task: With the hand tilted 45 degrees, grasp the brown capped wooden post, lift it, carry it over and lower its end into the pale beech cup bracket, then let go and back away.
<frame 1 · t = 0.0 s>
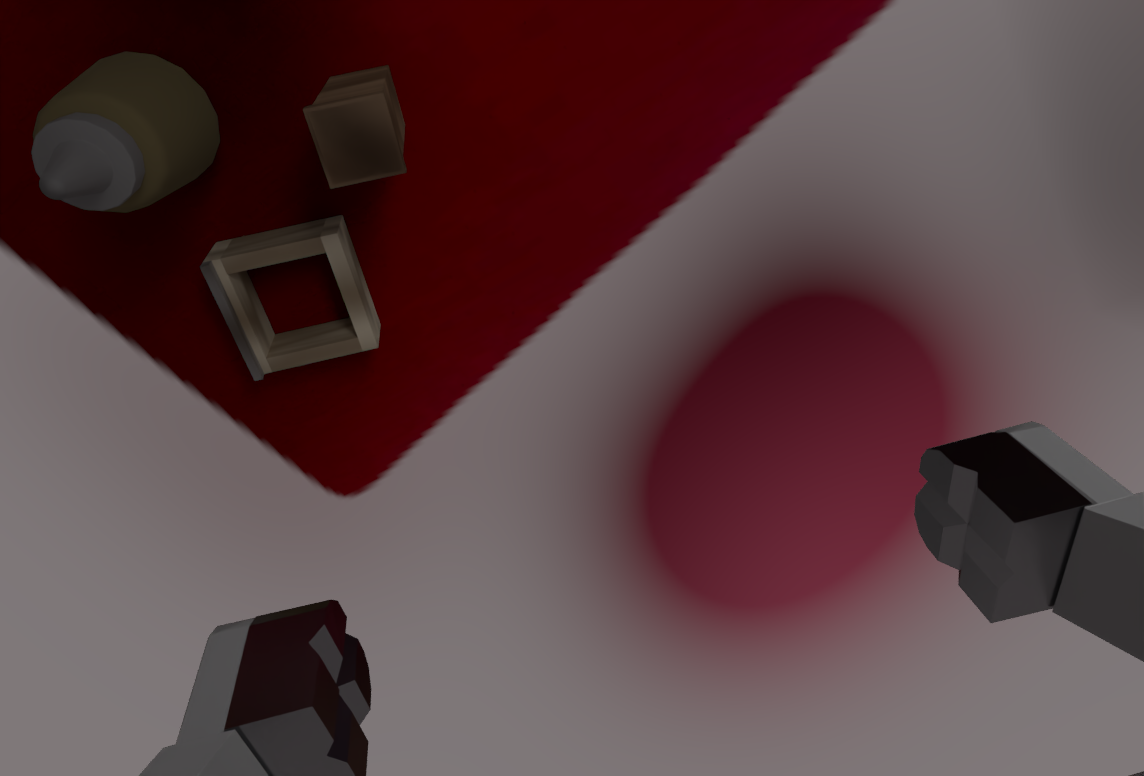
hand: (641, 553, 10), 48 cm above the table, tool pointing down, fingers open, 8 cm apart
brown capped wooden post: (368, 101, 50), on the table
cup bracket: (302, 285, 56), on the table
squeeze bottle: (168, 109, 49), on the table
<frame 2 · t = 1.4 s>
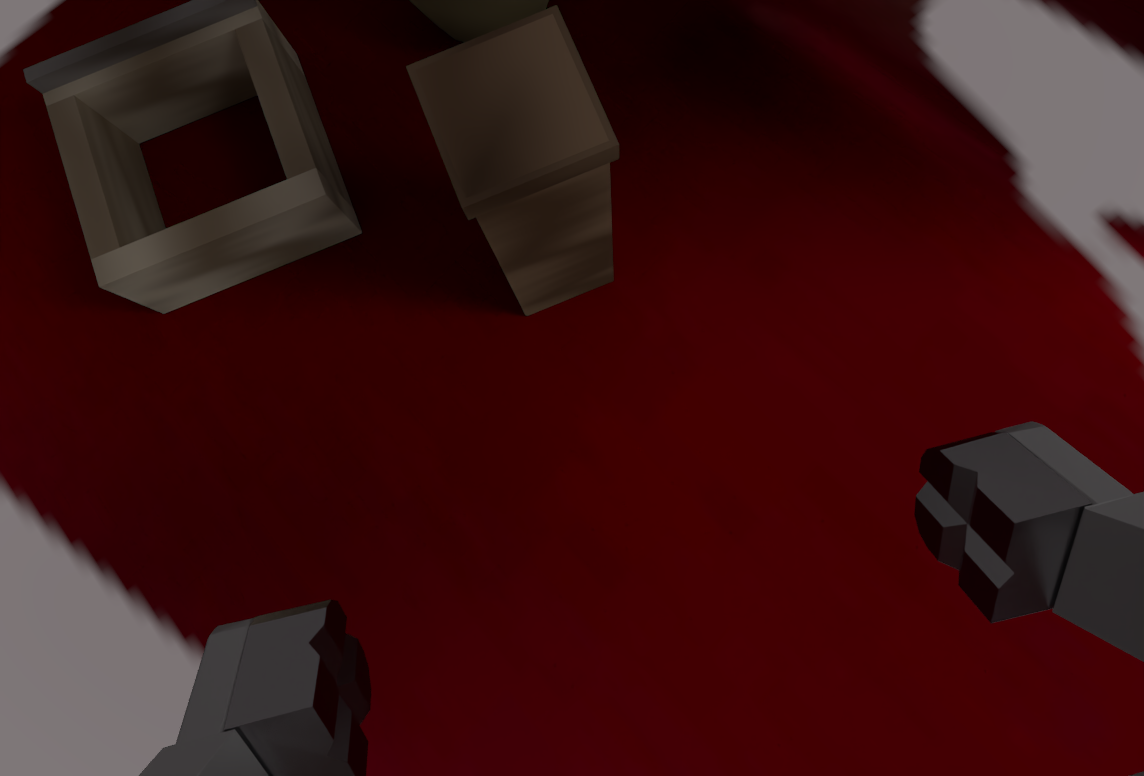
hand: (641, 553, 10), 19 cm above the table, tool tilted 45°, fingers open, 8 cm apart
brown capped wooden post: (552, 256, 31), on the table
cup bracket: (231, 180, 32), on the table
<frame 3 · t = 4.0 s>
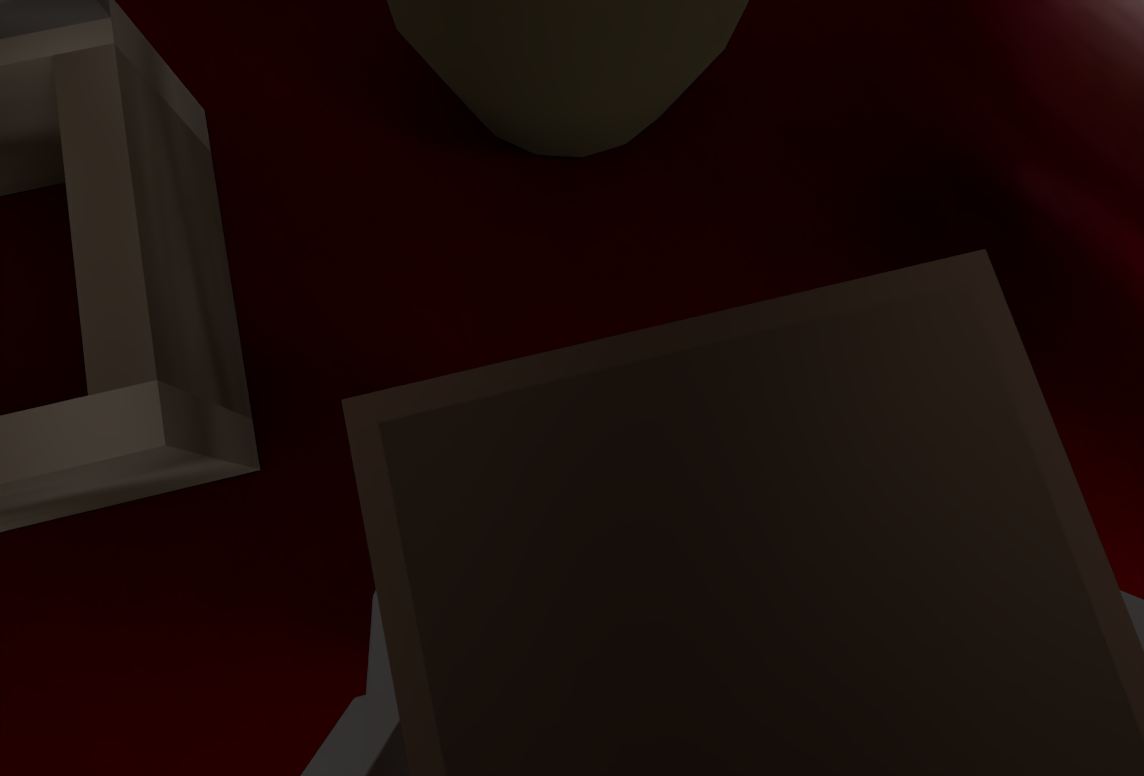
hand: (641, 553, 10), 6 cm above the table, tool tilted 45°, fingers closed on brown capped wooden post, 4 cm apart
brown capped wooden post: (618, 579, 16), on the table, touching gripper
cup bracket: (31, 324, 17), on the table
squeeze bottle: (566, 65, 19), on the table
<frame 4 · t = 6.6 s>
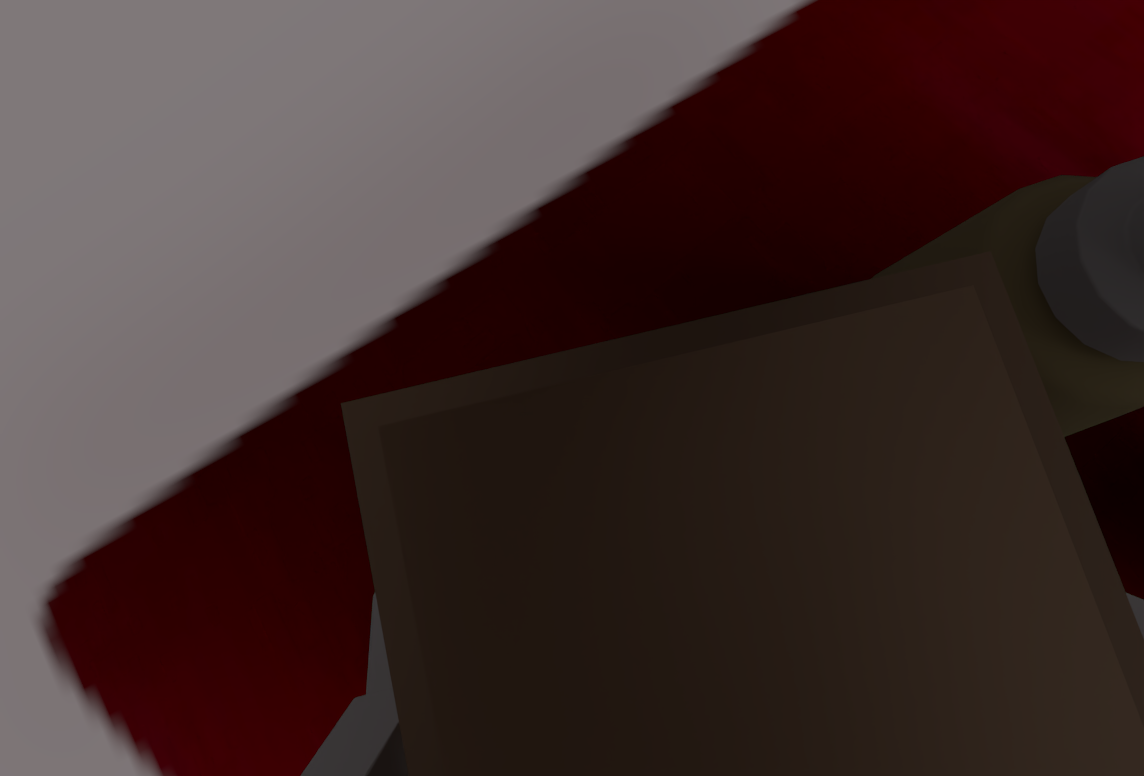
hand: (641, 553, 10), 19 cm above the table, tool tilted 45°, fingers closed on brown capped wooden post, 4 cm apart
brown capped wooden post: (618, 581, 16), point 13 cm above the table, touching gripper
squeeze bottle: (892, 387, 30), on the table
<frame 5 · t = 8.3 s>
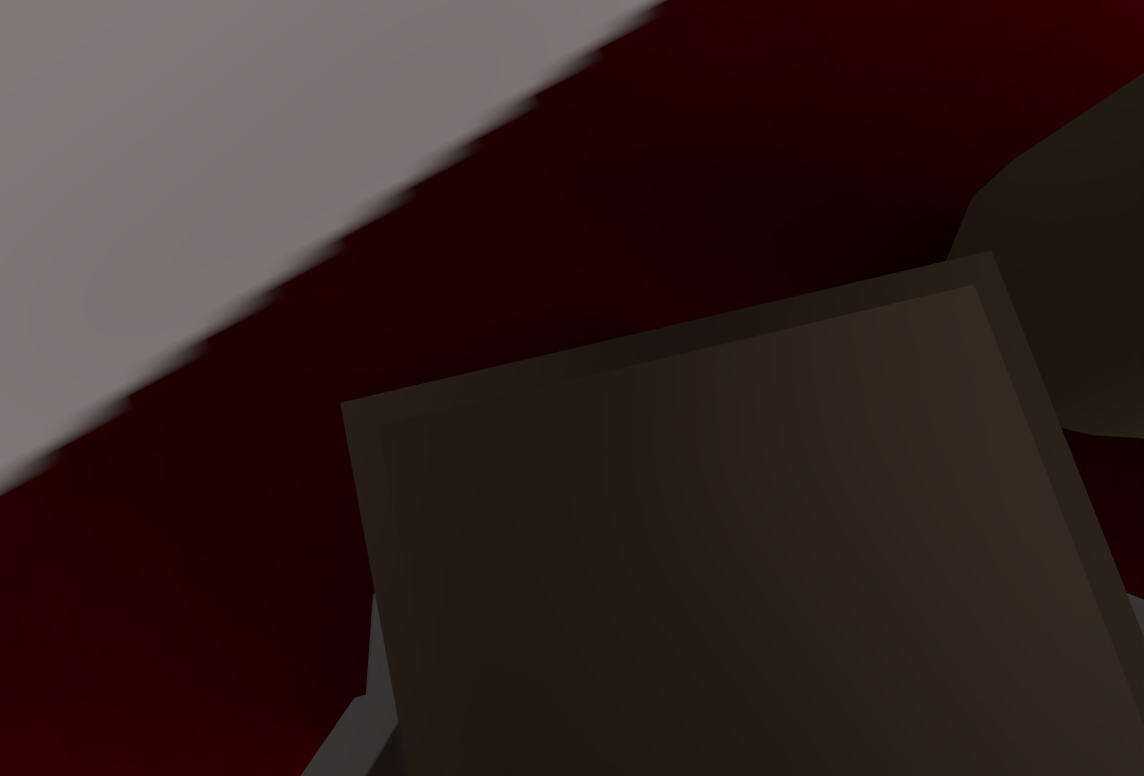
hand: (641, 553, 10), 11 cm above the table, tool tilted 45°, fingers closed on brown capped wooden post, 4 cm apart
brown capped wooden post: (618, 581, 16), point 5 cm above the table, touching gripper
squeeze bottle: (1017, 328, 22), on the table
when the fingers open (8 cm above the table, at t = 9.5 s): brown capped wooden post drops 1 cm, resting in cup bracket.
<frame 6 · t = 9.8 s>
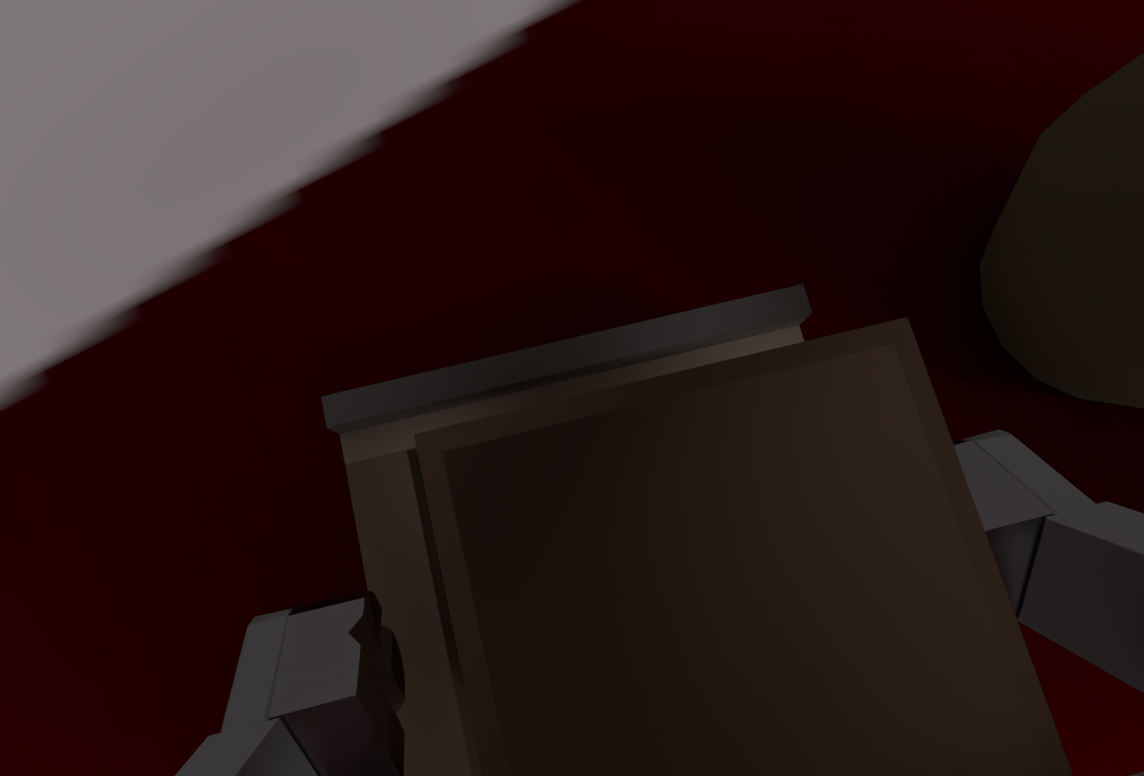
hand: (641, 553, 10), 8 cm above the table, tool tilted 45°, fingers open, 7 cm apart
brown capped wooden post: (616, 578, 17), resting in cup bracket
cup bracket: (612, 577, 17), on the table
squeeze bottle: (1079, 297, 19), on the table
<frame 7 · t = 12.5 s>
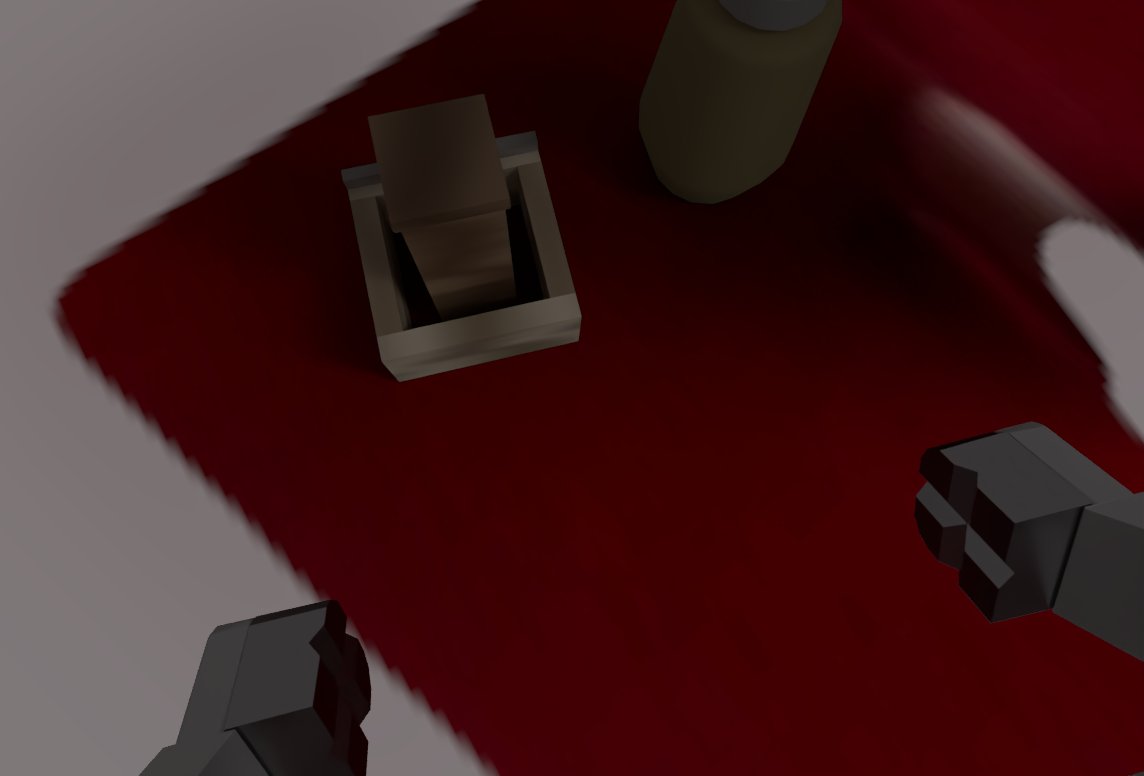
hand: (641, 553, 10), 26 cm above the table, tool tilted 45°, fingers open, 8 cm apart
brown capped wooden post: (472, 278, 38), resting in cup bracket
cup bracket: (470, 277, 38), on the table
squeeze bottle: (701, 159, 40), on the table
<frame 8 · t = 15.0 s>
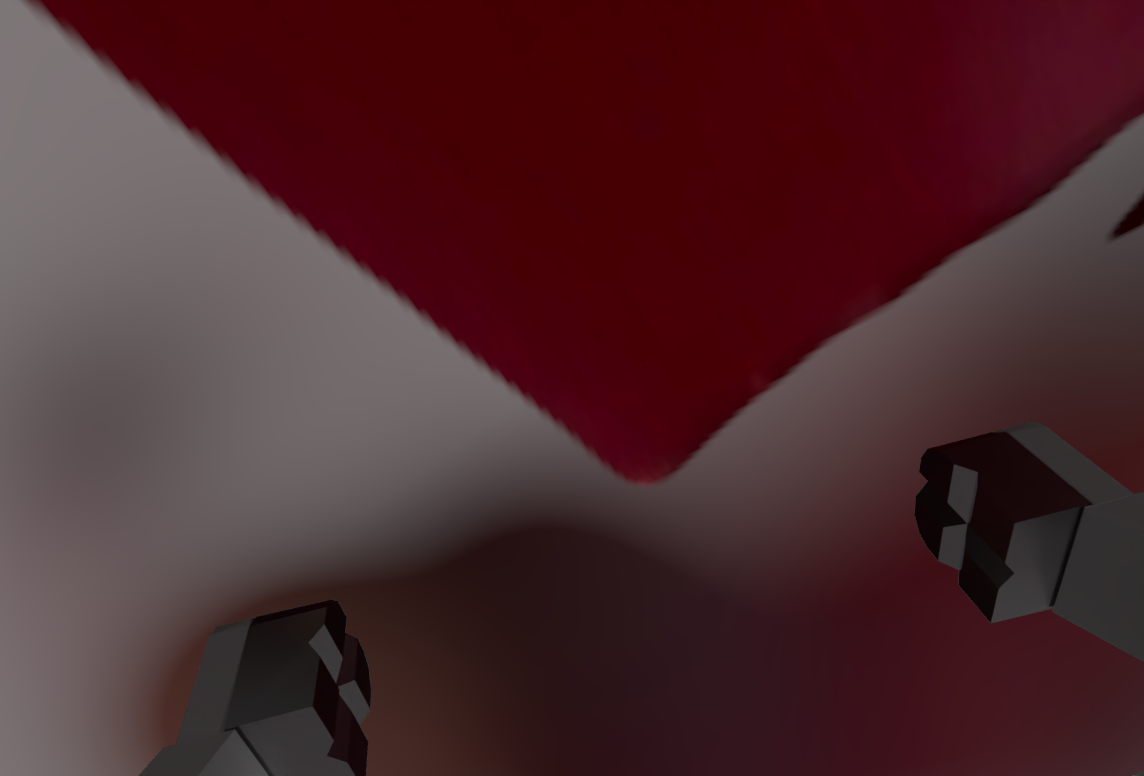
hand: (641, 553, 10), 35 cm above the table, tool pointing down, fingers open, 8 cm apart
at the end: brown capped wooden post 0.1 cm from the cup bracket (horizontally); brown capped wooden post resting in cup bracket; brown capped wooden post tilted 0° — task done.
